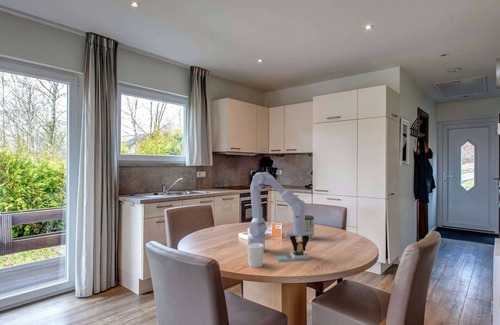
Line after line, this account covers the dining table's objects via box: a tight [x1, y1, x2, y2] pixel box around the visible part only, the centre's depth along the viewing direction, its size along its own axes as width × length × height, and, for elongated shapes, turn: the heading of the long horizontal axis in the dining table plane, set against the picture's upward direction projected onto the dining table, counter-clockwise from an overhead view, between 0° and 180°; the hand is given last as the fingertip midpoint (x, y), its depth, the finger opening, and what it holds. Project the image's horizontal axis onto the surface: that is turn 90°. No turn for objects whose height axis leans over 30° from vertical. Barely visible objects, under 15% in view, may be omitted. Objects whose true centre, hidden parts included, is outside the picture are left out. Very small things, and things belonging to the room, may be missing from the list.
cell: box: [294, 240, 303, 255], centre depth 148 cm, size 4×4×7 cm
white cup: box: [246, 243, 265, 268], centre depth 137 cm, size 8×8×10 cm
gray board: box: [273, 250, 312, 263], centre depth 147 cm, size 16×14×2 cm
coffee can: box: [297, 214, 315, 241], centre depth 187 cm, size 10×10×14 cm
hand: (299, 250), depth 148 cm, fingers closed on cell, 4 cm apart
